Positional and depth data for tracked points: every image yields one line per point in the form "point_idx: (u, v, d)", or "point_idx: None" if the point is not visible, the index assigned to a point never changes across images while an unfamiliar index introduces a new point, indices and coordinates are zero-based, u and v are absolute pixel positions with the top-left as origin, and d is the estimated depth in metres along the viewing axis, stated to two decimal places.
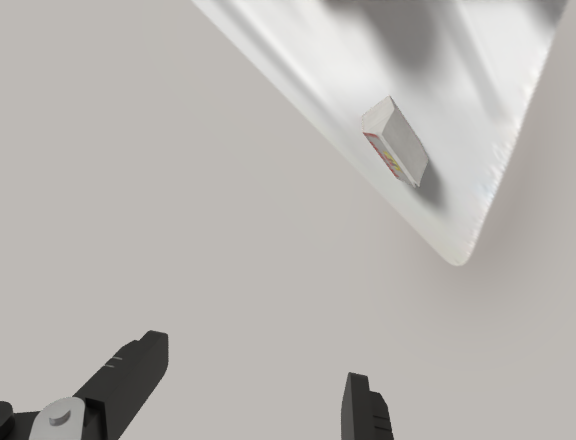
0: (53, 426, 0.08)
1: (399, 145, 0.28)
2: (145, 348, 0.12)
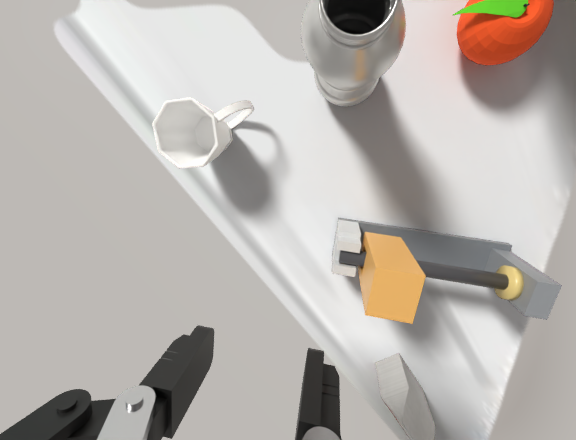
0: (131, 412, 0.09)
1: (414, 424, 0.34)
2: (197, 342, 0.12)
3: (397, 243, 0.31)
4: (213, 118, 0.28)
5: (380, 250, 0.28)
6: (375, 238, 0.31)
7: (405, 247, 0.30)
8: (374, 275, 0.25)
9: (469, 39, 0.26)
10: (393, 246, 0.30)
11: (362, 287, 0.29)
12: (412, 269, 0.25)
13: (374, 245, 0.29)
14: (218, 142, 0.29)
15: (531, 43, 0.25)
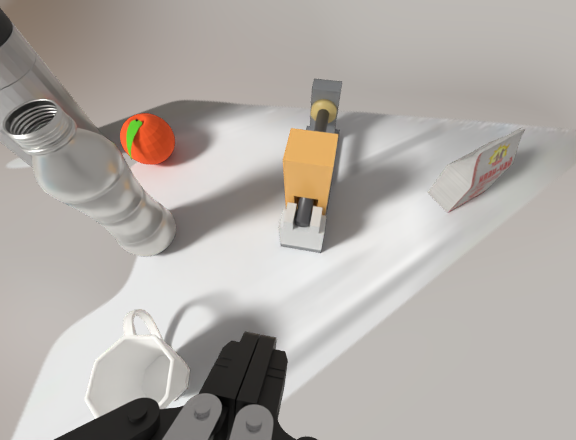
0: (201, 421, 0.09)
1: None
2: (249, 348, 0.12)
3: None
4: (125, 336, 0.25)
5: None
6: None
7: None
8: (291, 161, 0.27)
9: (150, 150, 0.39)
10: None
11: (323, 190, 0.30)
12: None
13: None
14: None
15: (163, 120, 0.40)
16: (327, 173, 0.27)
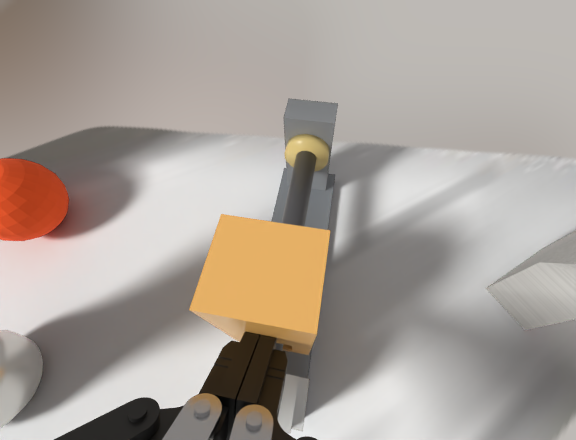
0: (201, 421, 0.09)
1: None
2: (249, 348, 0.12)
3: None
4: None
5: None
6: None
7: None
8: (210, 312, 0.10)
9: (6, 224, 0.22)
10: None
11: (300, 343, 0.13)
12: None
13: None
14: None
15: (37, 170, 0.24)
16: (303, 335, 0.11)
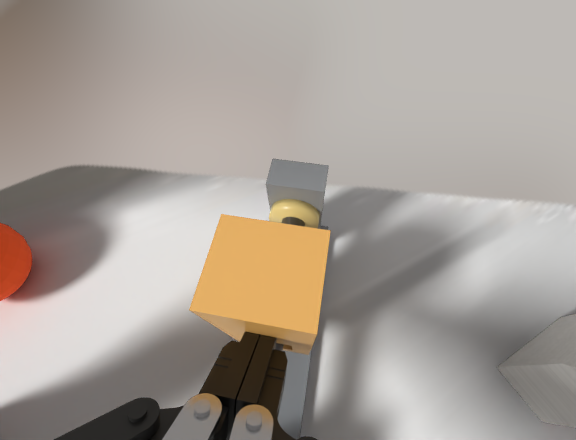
0: (201, 421, 0.09)
1: None
2: (249, 348, 0.12)
3: None
4: None
5: None
6: None
7: None
8: (210, 312, 0.10)
9: None
10: None
11: (300, 343, 0.13)
12: None
13: None
14: None
15: None
16: (304, 336, 0.11)
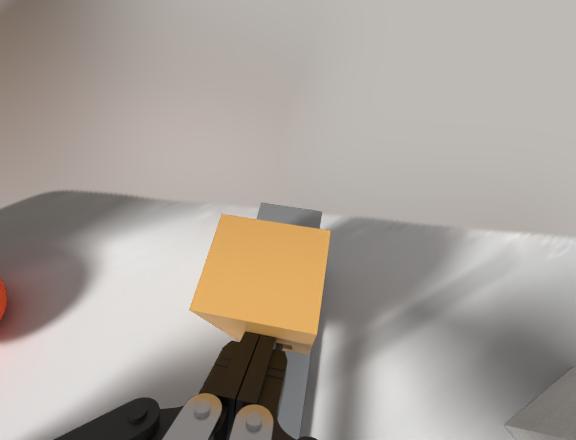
0: (201, 421, 0.09)
1: None
2: (249, 348, 0.12)
3: None
4: None
5: None
6: None
7: None
8: (210, 312, 0.10)
9: None
10: None
11: (300, 343, 0.13)
12: None
13: None
14: None
15: None
16: (303, 336, 0.11)
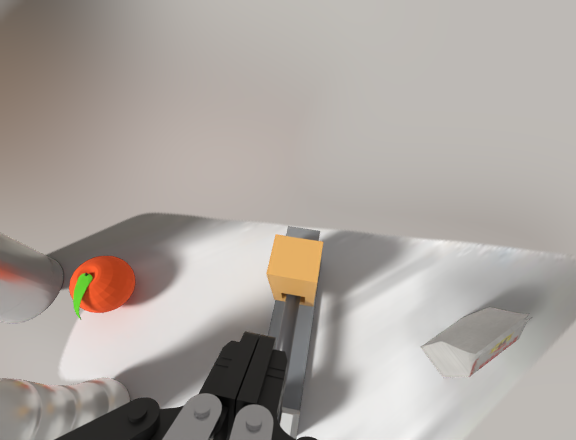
0: (201, 421, 0.09)
1: (482, 335, 0.28)
2: (249, 348, 0.12)
3: None
4: None
5: None
6: None
7: None
8: (274, 275, 0.26)
9: (102, 305, 0.34)
10: None
11: (309, 293, 0.29)
12: None
13: None
14: None
15: (119, 265, 0.36)
16: (312, 285, 0.27)
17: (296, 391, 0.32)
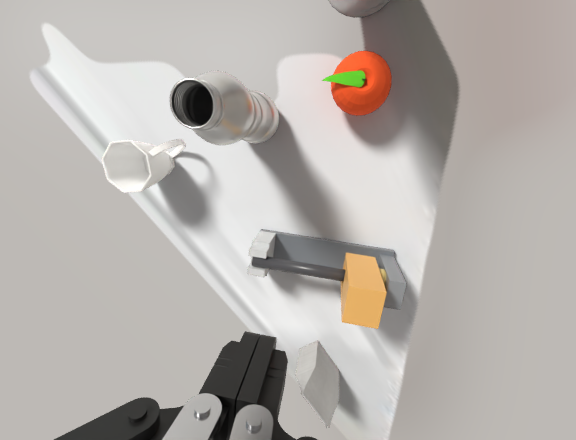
0: (201, 421, 0.09)
1: (316, 395, 0.42)
2: (249, 348, 0.12)
3: (370, 263, 0.38)
4: (146, 155, 0.36)
5: (355, 270, 0.36)
6: (353, 258, 0.39)
7: (376, 267, 0.37)
8: (348, 291, 0.32)
9: (335, 98, 0.35)
10: (367, 266, 0.37)
11: (341, 299, 0.37)
12: (377, 286, 0.32)
13: (351, 265, 0.37)
14: (152, 173, 0.37)
15: (377, 103, 0.33)
16: (342, 313, 0.34)
17: None
